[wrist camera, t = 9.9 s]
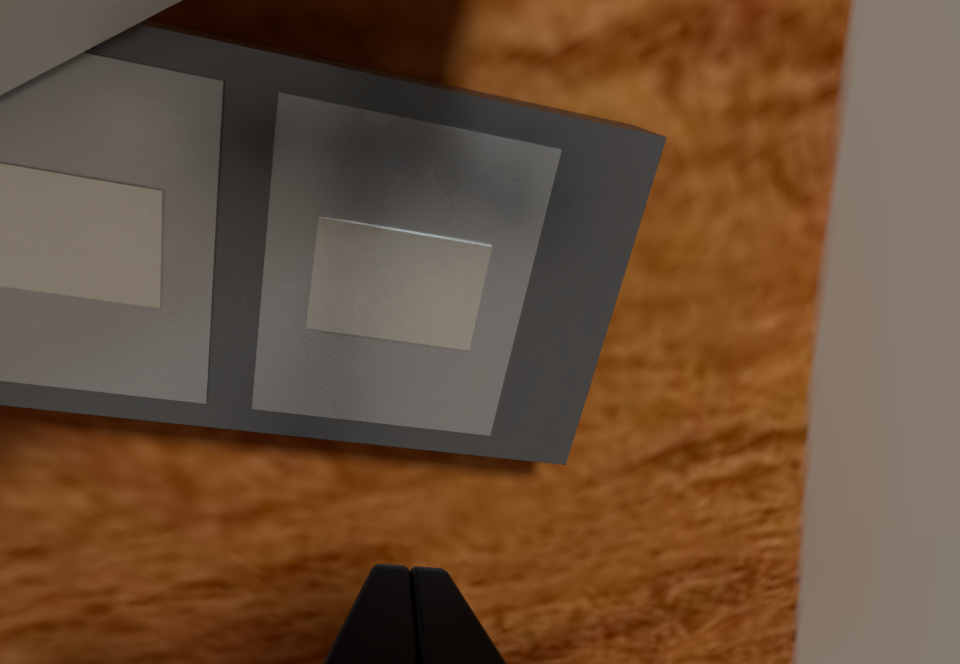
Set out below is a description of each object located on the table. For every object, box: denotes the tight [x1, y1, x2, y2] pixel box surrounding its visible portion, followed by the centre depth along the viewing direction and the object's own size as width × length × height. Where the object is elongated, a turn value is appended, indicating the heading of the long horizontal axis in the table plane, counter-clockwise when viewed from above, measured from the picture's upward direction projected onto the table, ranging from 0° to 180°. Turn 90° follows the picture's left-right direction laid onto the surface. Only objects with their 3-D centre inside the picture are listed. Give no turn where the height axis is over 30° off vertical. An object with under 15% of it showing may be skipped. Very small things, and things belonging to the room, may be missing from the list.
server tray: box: [0, 20, 667, 465], centre depth 17 cm, size 10×25×3 cm, turn 78°
